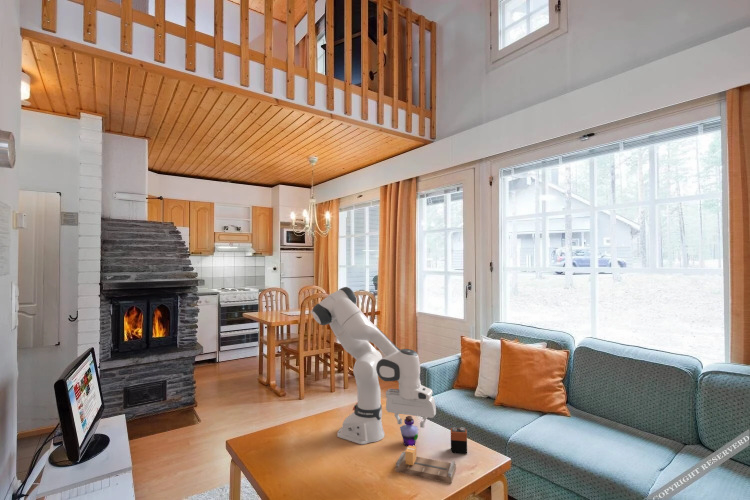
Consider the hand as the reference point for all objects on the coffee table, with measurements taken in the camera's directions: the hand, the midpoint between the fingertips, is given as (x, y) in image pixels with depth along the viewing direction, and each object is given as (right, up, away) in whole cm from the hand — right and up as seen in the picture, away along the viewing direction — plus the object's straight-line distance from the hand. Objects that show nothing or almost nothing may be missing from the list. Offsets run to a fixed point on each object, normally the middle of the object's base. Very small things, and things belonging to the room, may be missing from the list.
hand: (411, 425), depth 149 cm
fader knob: (0, -15, 0) cm, 15 cm away
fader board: (+6, -17, -2) cm, 18 cm away
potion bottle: (+1, -17, +19) cm, 26 cm away
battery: (+22, -17, +12) cm, 30 cm away
